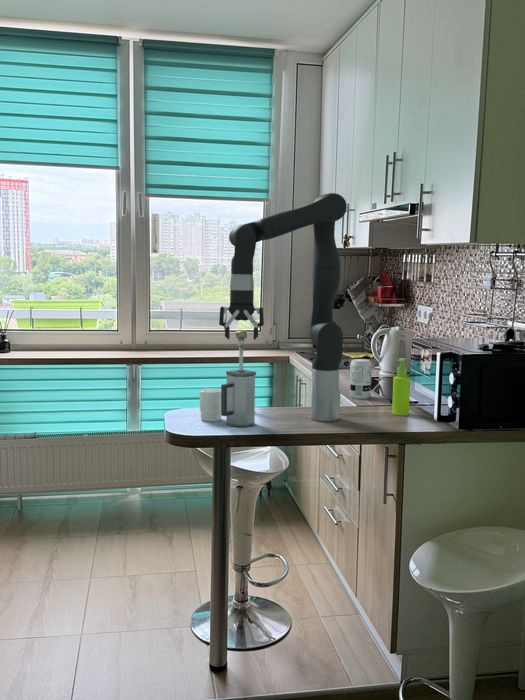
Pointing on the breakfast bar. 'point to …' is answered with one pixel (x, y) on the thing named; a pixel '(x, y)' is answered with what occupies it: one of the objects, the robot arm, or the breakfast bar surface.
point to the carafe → (239, 399)
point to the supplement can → (360, 379)
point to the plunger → (241, 347)
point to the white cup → (210, 404)
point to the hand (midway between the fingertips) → (241, 339)
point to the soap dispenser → (401, 390)
